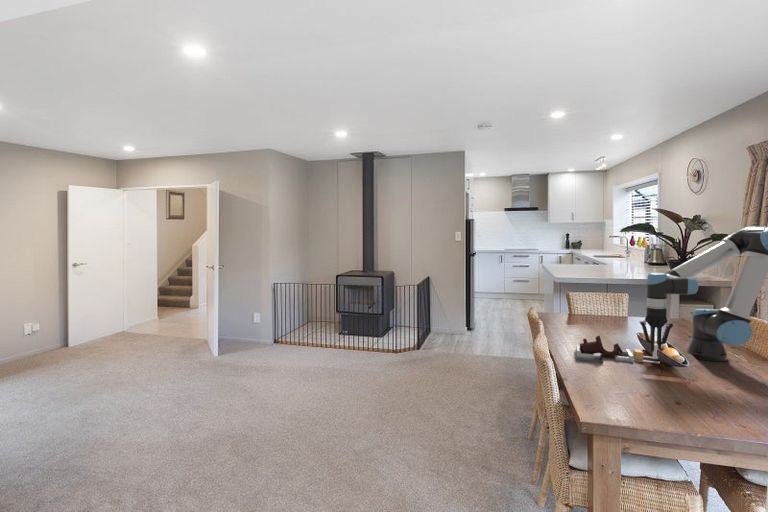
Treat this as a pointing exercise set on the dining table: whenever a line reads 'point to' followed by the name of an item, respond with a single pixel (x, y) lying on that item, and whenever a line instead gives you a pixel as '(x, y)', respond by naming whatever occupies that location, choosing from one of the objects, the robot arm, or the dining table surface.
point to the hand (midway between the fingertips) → (655, 358)
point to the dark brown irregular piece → (599, 348)
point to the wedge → (637, 354)
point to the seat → (598, 358)
